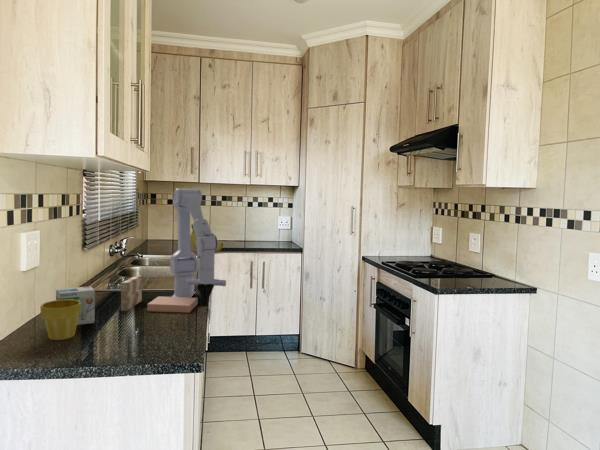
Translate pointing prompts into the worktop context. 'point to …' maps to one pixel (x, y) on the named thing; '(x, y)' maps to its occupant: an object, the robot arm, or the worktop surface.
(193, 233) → the banana
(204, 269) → the robot arm
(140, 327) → the worktop surface
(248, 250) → the worktop surface
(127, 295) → the bookend
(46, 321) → the plant pot
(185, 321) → the worktop surface
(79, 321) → the light bulb box
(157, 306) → the book
